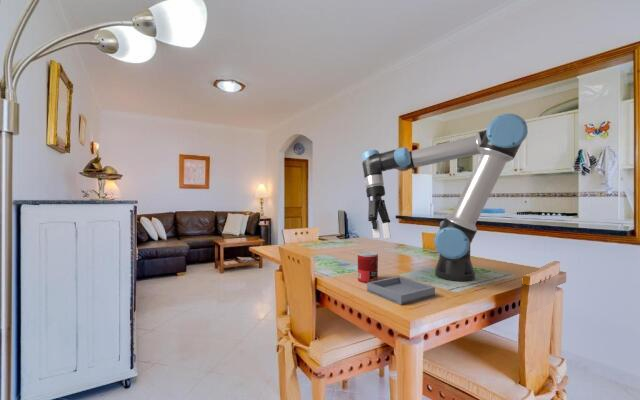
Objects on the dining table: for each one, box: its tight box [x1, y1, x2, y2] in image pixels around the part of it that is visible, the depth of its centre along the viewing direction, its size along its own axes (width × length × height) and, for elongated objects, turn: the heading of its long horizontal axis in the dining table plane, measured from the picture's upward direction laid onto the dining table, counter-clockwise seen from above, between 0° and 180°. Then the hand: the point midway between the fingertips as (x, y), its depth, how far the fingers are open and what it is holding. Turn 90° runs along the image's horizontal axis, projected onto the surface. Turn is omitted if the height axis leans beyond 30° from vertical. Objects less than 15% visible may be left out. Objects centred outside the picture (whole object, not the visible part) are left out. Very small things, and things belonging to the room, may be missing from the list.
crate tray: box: [366, 275, 436, 306], centre depth 105 cm, size 16×16×3 cm
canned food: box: [357, 250, 379, 284], centre depth 120 cm, size 8×8×11 cm
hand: (382, 238), depth 122 cm, fingers open, 13 cm apart
